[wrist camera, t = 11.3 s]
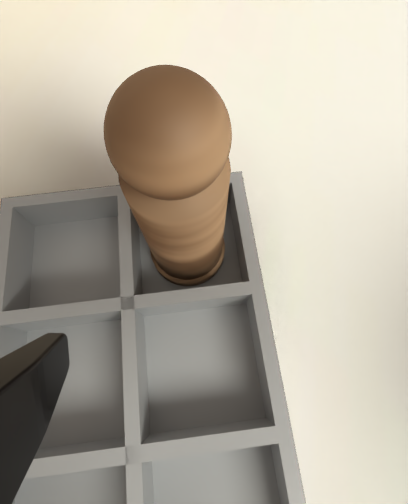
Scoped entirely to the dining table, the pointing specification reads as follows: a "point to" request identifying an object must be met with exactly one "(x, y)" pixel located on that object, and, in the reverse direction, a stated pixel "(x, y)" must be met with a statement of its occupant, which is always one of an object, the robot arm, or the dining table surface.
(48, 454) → the tray
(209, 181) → the skittle
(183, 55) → the dining table surface
